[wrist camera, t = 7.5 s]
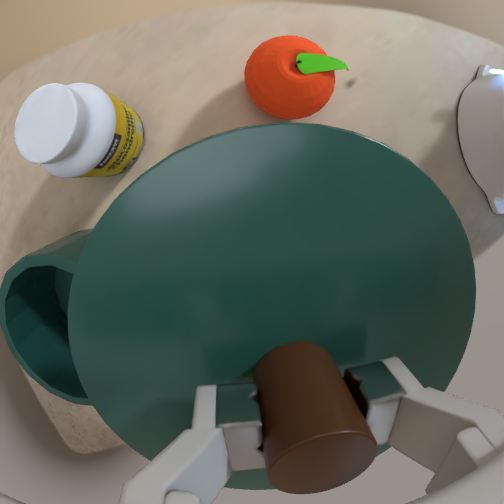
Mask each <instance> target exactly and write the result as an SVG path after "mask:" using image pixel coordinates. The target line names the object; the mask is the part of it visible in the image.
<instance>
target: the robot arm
mask: <svg viewBox="0 0 504 504" xmlns="http://www.w3.org/2000/svg"><path fill="white" fill-rule="evenodd" d="M458 133H459V140H460V145H461V149H462V153H463V156H464V159H465V162H466V164H467V167H468V169H469V171H470V173H471V175H472V176H473V178H474V180H475V181H476V182H477V184H478V185H479V186H480V187H481V188H482V190H483V191H484V192H485V194H486V195H487V198H488V201H489V204H490V207H491V209H492V211H493V212H494V213H495V214H504V70H497V69H494V68H492V67H491V66H489V65H481V66H480V67H479V70H478V73H477V77H476V79H475V80H474V81H473V82H472V83H470V84H469V85H468V86H467V87H466V88H465V90H464V92H463V94H462V96H461V99H460V102H459V108H458ZM343 378H344V380H345V382H346V384H347V386H348V388H349V389H350V391H351V393H352V395H353V397H354V399H355V401H356V403H357V405H358V406H359V408H360V410H361V412H362V414H363V416H364V418H365V420H366V422H367V424H368V425H369V427H370V429H371V431H372V433H373V435H374V437H375V439H376V441H377V444H378V445H381V444H385V443H388V445H390V446H392V447H393V448H395V449H396V450H398V451H399V452H401V453H403V454H404V455H406V456H408V457H409V458H411V459H412V460H414V461H416V462H418V463H419V464H421V465H423V466H424V467H426V468H428V469H429V470H431V471H433V472H434V473H435V475H434V476H433V478H432V479H431V481H430V483H429V484H428V486H427V488H426V490H425V491H426V493H427V495H425V496H423V497H421V498H418V499H416V500H414V501H411V502H409V503H406V504H504V415H503V414H502V413H501V412H500V411H499V410H498V409H495V408H491V407H488V406H485V405H482V404H478V403H475V402H472V401H469V400H466V399H463V398H460V397H457V396H454V395H451V394H448V393H445V392H442V391H439V390H437V389H434V388H431V387H427V388H424V387H423V386H422V385H421V384H420V382H419V381H418V380H417V379H416V378H415V377H414V375H413V374H412V373H411V372H410V371H409V369H408V368H407V367H406V366H405V365H404V364H403V362H402V361H401V360H400V359H399V358H398V357H395V356H394V357H390V358H386V359H383V360H379V361H377V362H373V363H368V364H364V365H359V366H355V367H350V368H346V369H345V371H344V375H343ZM262 443H263V434H262V424H261V417H260V409H259V403H258V395H257V387H256V382H248V383H233V384H218V385H198V387H197V388H196V394H195V402H194V411H193V419H192V428H191V429H185V430H184V431H183V432H182V433H181V434H180V435H179V436H178V437H177V438H176V439H175V440H173V441H172V442H171V443H170V444H169V445H168V446H167V447H166V448H165V449H164V450H163V451H161V452H160V453H159V454H158V455H157V456H156V457H155V458H154V459H153V460H151V461H150V462H149V463H148V464H147V465H146V466H145V467H143V468H142V469H141V470H140V471H139V472H138V473H137V474H135V475H134V476H133V477H132V478H131V479H129V480H128V481H127V482H126V483H125V484H124V485H123V488H122V492H121V495H120V499H119V503H118V504H212V503H213V501H214V500H215V498H216V497H217V496H218V494H219V493H220V491H221V490H222V488H223V487H224V485H225V484H226V482H227V481H228V480H229V478H230V477H231V475H232V474H233V473H232V472H234V471H245V470H254V469H262V468H265V462H264V455H263V448H262ZM0 504H25V503H22V502H20V501H17V500H15V499H13V498H10V497H9V496H6V495H4V494H2V493H0Z"/></svg>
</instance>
